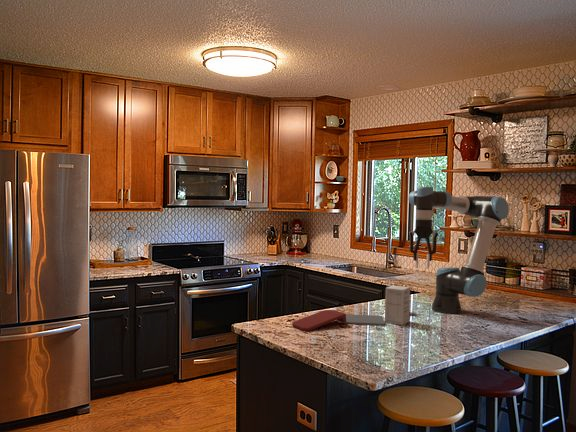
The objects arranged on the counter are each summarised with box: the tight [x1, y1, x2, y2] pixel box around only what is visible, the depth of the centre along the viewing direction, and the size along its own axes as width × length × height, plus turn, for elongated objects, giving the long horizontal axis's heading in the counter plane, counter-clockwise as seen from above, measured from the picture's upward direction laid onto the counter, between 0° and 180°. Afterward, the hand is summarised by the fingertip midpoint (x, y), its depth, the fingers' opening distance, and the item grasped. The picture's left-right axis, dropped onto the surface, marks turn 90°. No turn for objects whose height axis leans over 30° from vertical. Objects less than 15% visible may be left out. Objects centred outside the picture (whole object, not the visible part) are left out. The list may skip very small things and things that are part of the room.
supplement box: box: [384, 285, 411, 326], centre depth 251 cm, size 10×9×17 cm
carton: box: [291, 309, 347, 332], centre depth 241 cm, size 12×5×25 cm
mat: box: [343, 313, 386, 326], centre depth 252 cm, size 16×20×1 cm
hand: (422, 267), depth 249 cm, fingers open, 4 cm apart
